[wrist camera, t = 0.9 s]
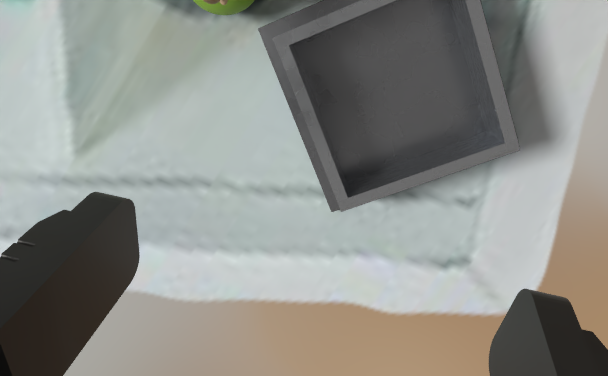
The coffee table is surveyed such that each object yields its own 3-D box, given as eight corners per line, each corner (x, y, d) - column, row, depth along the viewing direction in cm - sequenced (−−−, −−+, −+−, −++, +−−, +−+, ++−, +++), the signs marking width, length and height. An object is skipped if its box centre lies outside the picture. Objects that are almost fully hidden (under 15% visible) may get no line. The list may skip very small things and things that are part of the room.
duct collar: (259, 28, 33) (247, 26, 29) (460, -58, 31) (482, -76, 26) (331, 208, 37) (331, 231, 33) (515, 144, 35) (542, 160, 30)
